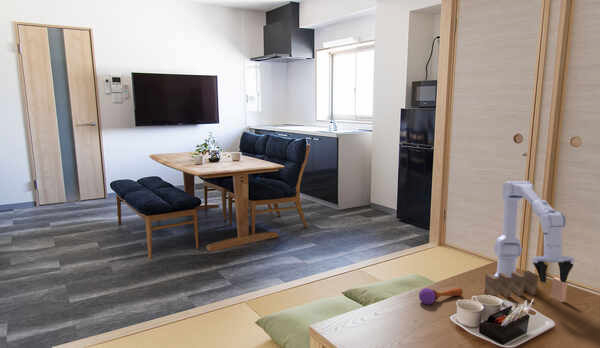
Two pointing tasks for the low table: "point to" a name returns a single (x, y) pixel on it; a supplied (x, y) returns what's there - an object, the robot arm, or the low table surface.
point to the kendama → (437, 294)
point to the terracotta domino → (558, 289)
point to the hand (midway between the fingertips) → (553, 282)
